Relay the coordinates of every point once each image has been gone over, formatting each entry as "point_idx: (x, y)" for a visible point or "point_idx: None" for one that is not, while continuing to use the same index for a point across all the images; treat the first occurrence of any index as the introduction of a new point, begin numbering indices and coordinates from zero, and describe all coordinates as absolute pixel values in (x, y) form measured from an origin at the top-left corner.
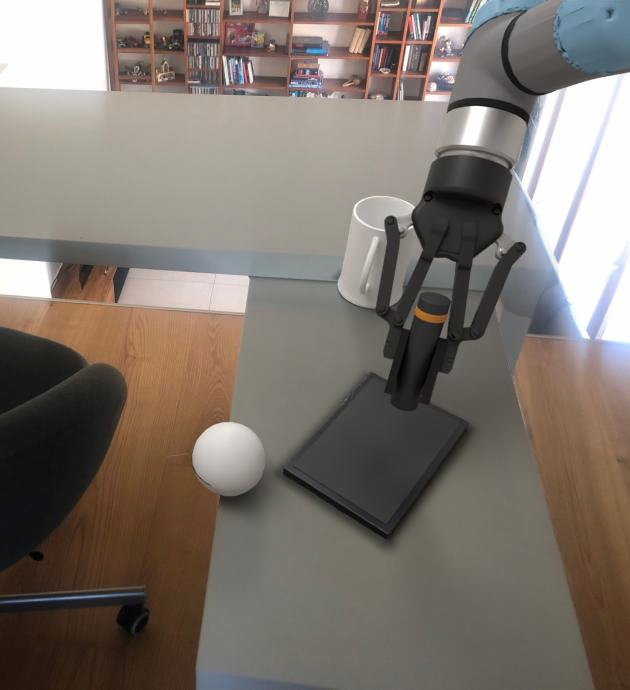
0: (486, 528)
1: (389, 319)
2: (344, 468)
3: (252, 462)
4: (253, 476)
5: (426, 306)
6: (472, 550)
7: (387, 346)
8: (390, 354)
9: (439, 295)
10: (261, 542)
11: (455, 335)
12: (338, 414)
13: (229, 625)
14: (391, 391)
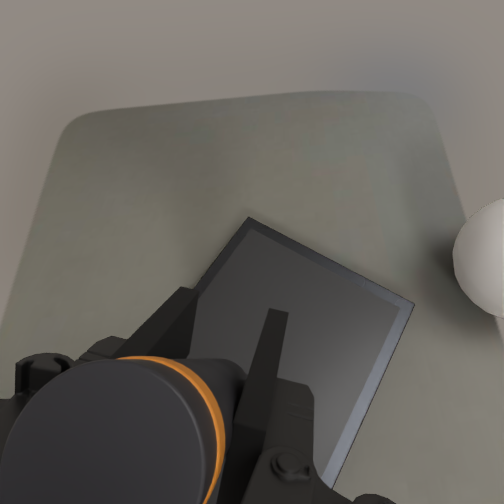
0: (104, 257)
1: (323, 492)
2: (315, 314)
3: (494, 210)
4: (474, 215)
5: (178, 380)
6: (135, 224)
7: (303, 409)
8: (288, 387)
9: None
10: (409, 202)
11: (52, 362)
12: (336, 451)
13: (415, 120)
14: (271, 311)
